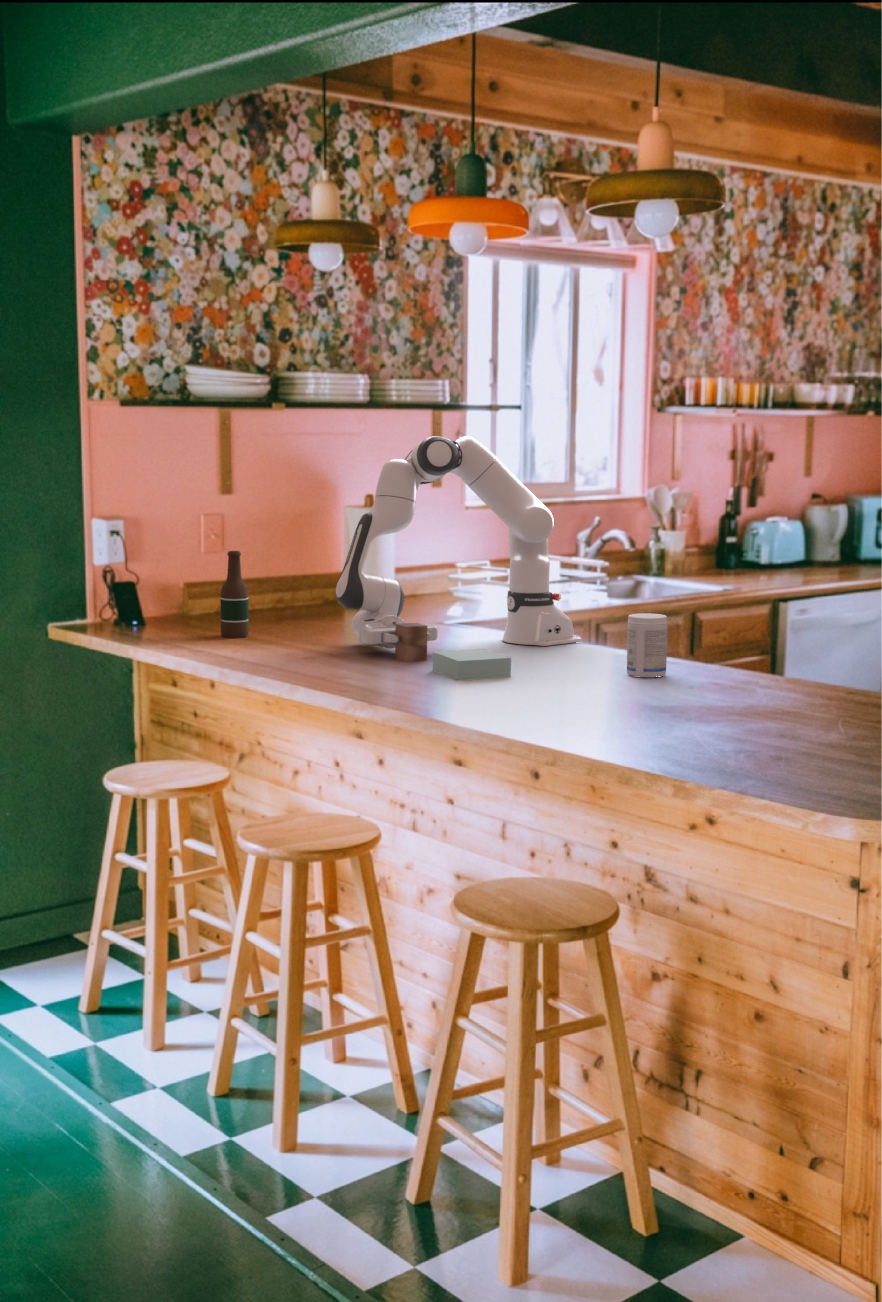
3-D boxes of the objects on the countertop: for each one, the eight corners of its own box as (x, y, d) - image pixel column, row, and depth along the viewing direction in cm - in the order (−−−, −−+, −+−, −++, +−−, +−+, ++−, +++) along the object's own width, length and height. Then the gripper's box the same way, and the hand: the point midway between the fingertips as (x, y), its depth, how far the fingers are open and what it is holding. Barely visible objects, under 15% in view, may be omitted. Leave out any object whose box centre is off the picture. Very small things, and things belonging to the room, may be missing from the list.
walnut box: (416, 657, 344) (416, 622, 342) (426, 660, 339) (427, 625, 337) (395, 658, 341) (395, 623, 340) (405, 662, 336) (406, 626, 334)
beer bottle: (254, 636, 375) (254, 550, 371) (236, 639, 368) (235, 552, 364) (233, 633, 379) (232, 549, 375) (214, 636, 372) (214, 551, 368)
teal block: (483, 668, 330) (483, 648, 329) (510, 678, 318) (511, 657, 317) (432, 672, 324) (432, 651, 323) (458, 682, 312) (458, 661, 311)
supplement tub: (670, 674, 325) (672, 614, 323) (660, 680, 316) (663, 619, 314) (631, 670, 329) (633, 611, 326) (621, 676, 320) (623, 616, 318)
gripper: (423, 640, 356) (448, 648, 344) (354, 645, 346) (377, 653, 334) (423, 617, 355) (448, 624, 343) (354, 621, 345) (377, 628, 333)
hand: (412, 638), depth 338 cm, fingers open, 7 cm apart
